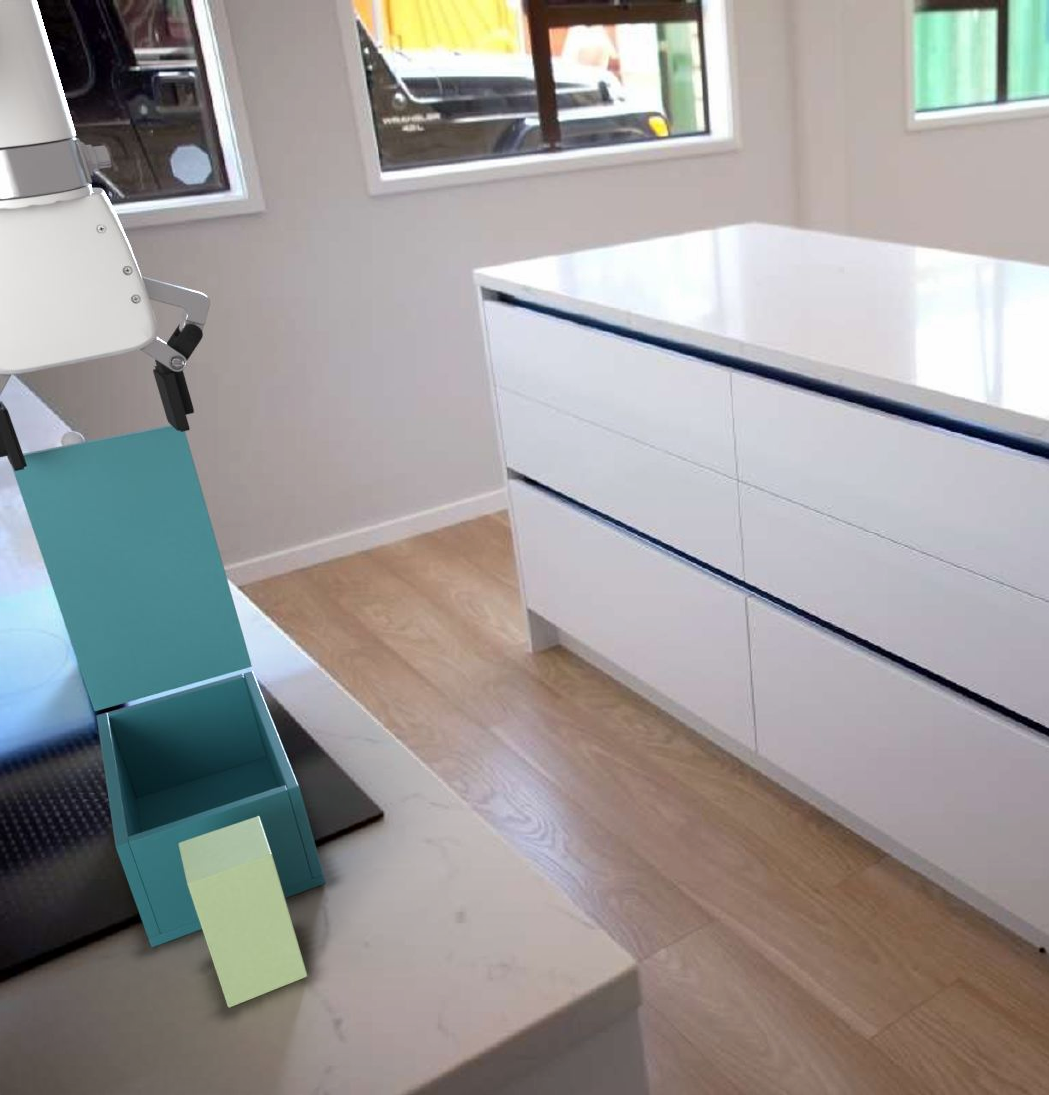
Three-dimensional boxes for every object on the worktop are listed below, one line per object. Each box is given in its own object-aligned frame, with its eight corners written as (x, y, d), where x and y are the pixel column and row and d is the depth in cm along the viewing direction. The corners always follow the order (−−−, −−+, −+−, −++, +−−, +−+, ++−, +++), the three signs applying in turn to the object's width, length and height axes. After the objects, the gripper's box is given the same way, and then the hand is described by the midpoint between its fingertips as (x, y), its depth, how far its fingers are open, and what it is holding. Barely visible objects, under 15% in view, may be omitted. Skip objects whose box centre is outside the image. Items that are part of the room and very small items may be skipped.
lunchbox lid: (183, 424, 85) (176, 413, 89) (9, 458, 81) (10, 445, 85) (252, 666, 92) (243, 646, 96) (94, 711, 87) (92, 688, 91)
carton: (307, 976, 74) (272, 854, 70) (228, 1008, 72) (187, 884, 68) (293, 934, 77) (259, 815, 73) (217, 963, 75) (178, 842, 71)
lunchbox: (325, 883, 81) (299, 786, 78) (151, 948, 77) (115, 847, 74) (277, 757, 96) (252, 670, 92) (127, 805, 91) (96, 715, 88)
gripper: (156, 153, 82) (223, 401, 89) (-163, 191, 72) (-59, 466, 80) (184, 161, 76) (253, 425, 84) (-157, 204, 67) (-46, 497, 74)
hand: (101, 445), depth 82 cm, fingers open, 9 cm apart
